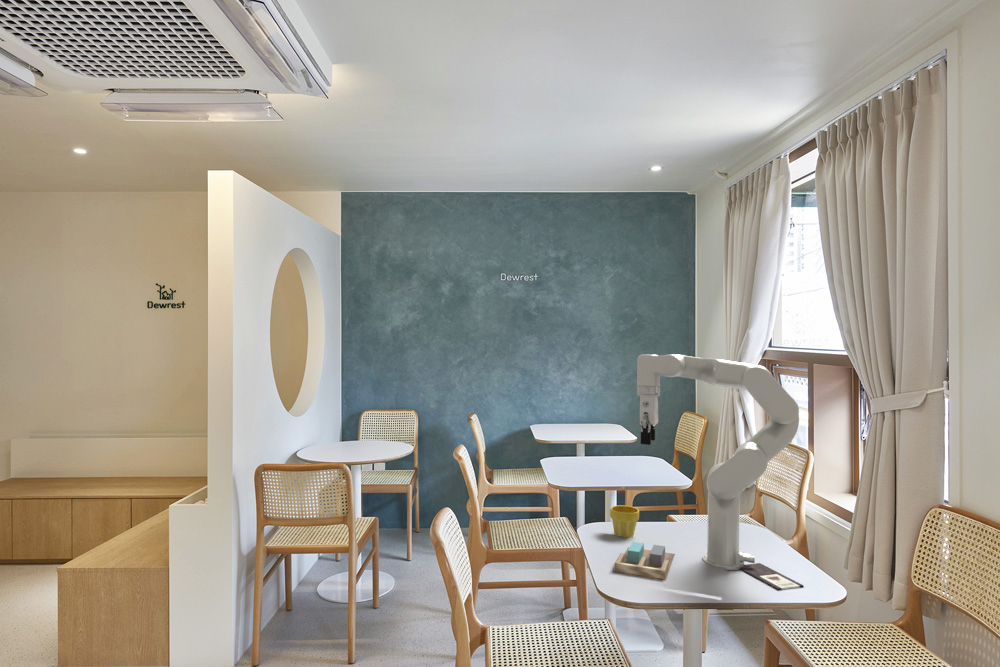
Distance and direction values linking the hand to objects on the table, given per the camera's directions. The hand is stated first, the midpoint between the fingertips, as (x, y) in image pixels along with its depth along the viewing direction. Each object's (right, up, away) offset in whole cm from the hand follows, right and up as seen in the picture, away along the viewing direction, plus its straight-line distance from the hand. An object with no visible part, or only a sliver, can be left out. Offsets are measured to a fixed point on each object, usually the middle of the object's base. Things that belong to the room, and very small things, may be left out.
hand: (647, 442), depth 200 cm
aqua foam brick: (-6, -36, -8) cm, 37 cm away
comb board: (-4, -37, -12) cm, 39 cm away
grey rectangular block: (0, -36, -11) cm, 37 cm away
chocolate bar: (+31, -38, -20) cm, 53 cm away
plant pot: (-5, -37, +16) cm, 41 cm away
